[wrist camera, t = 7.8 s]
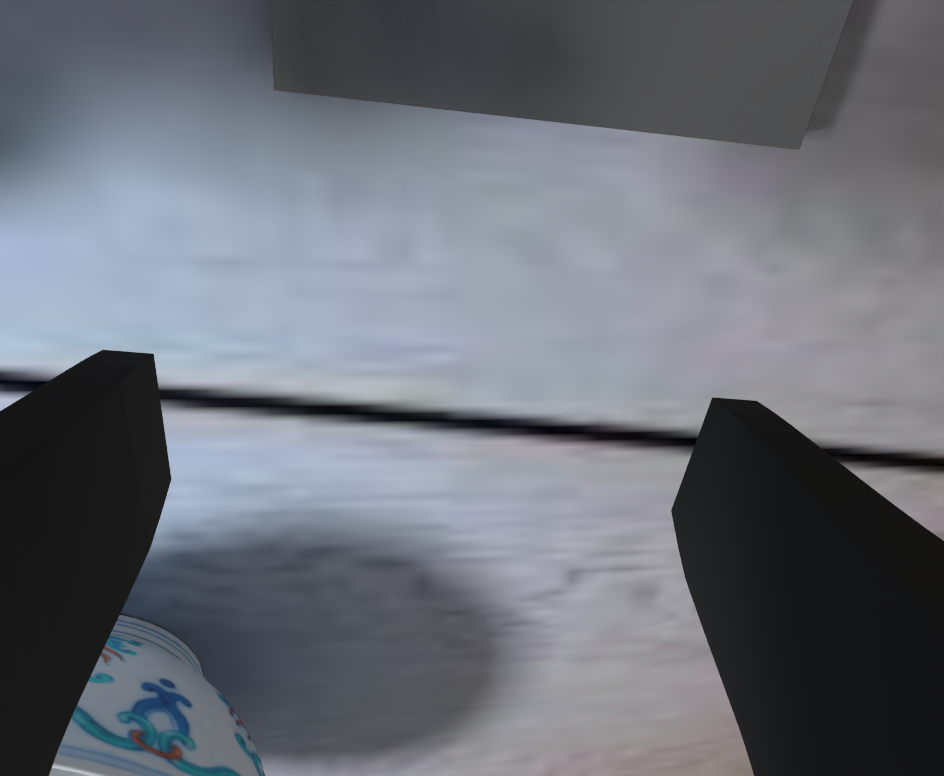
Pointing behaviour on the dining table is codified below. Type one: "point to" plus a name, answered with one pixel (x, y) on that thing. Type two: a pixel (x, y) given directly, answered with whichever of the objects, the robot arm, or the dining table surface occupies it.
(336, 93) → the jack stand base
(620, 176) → the dining table surface
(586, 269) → the dining table surface
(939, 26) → the dining table surface
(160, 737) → the chinaware
